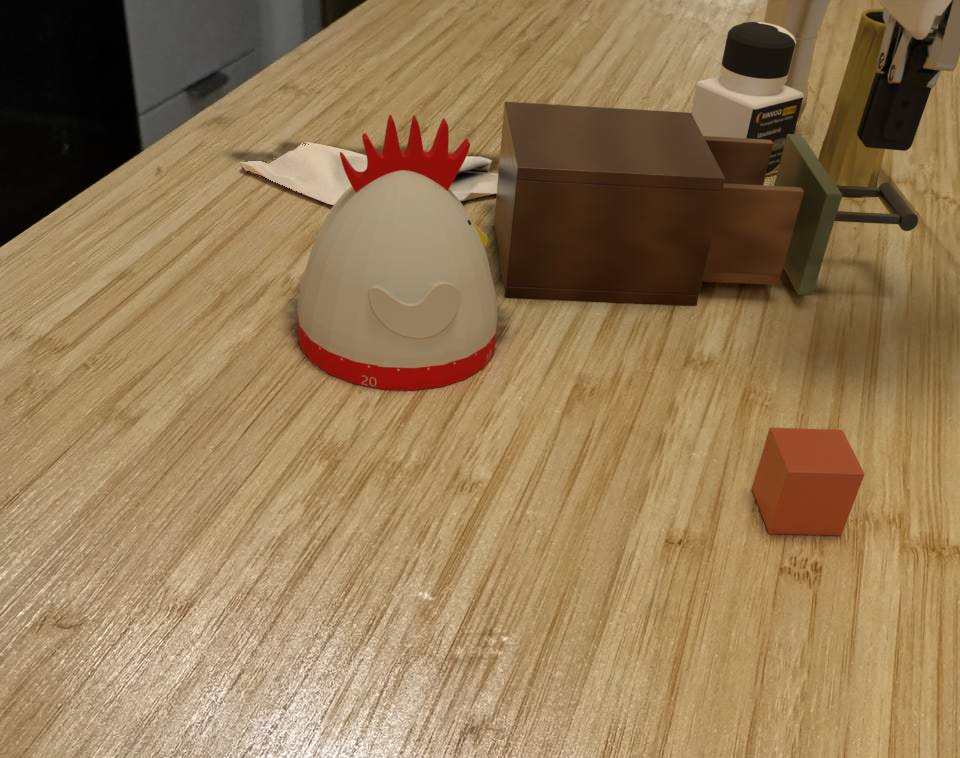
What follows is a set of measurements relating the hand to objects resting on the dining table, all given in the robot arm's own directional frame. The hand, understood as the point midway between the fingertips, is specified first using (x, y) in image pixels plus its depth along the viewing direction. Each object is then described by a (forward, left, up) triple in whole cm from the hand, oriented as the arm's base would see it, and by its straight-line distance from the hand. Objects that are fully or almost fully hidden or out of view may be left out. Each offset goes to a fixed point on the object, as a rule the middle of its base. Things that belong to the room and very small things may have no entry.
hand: (882, 143), depth 74 cm
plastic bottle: (-7, -45, -15) cm, 48 cm away
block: (+7, +20, -15) cm, 26 cm away
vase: (-11, -31, -15) cm, 36 cm away
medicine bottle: (-1, -34, -15) cm, 37 cm away
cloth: (+32, -25, -15) cm, 43 cm away
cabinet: (+16, -12, -15) cm, 24 cm away
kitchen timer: (+31, +1, -15) cm, 34 cm away
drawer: (+2, -12, -14) cm, 18 cm away
